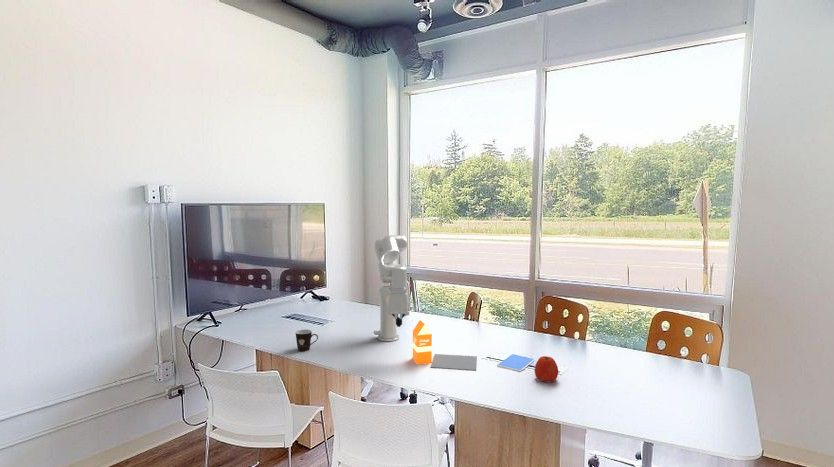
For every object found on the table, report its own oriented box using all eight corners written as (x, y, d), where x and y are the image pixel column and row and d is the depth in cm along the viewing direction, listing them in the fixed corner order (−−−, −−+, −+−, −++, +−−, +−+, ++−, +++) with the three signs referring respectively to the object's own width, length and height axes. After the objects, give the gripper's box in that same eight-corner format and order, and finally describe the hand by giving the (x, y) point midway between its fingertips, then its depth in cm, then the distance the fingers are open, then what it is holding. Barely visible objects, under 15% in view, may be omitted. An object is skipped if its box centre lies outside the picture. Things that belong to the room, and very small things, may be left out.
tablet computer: (512, 355, 216) (512, 353, 216) (535, 361, 209) (535, 358, 209) (496, 367, 200) (496, 364, 200) (520, 373, 193) (520, 370, 193)
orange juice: (416, 364, 203) (417, 324, 202) (412, 358, 211) (412, 320, 210) (432, 362, 205) (432, 323, 204) (426, 356, 213) (426, 318, 212)
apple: (553, 374, 190) (553, 352, 190) (561, 383, 180) (562, 360, 179) (531, 374, 190) (531, 352, 189) (538, 384, 180) (539, 360, 179)
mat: (430, 367, 198) (430, 366, 198) (434, 354, 216) (434, 354, 216) (476, 370, 195) (476, 369, 195) (476, 357, 213) (476, 356, 213)
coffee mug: (292, 350, 222) (291, 332, 222) (303, 346, 230) (303, 328, 229) (308, 354, 217) (308, 335, 216) (319, 349, 224) (319, 331, 224)
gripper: (382, 291, 205) (383, 327, 206) (412, 292, 203) (412, 329, 204) (386, 288, 213) (386, 323, 214) (414, 289, 210) (414, 324, 211)
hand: (398, 326), depth 209 cm, fingers closed
